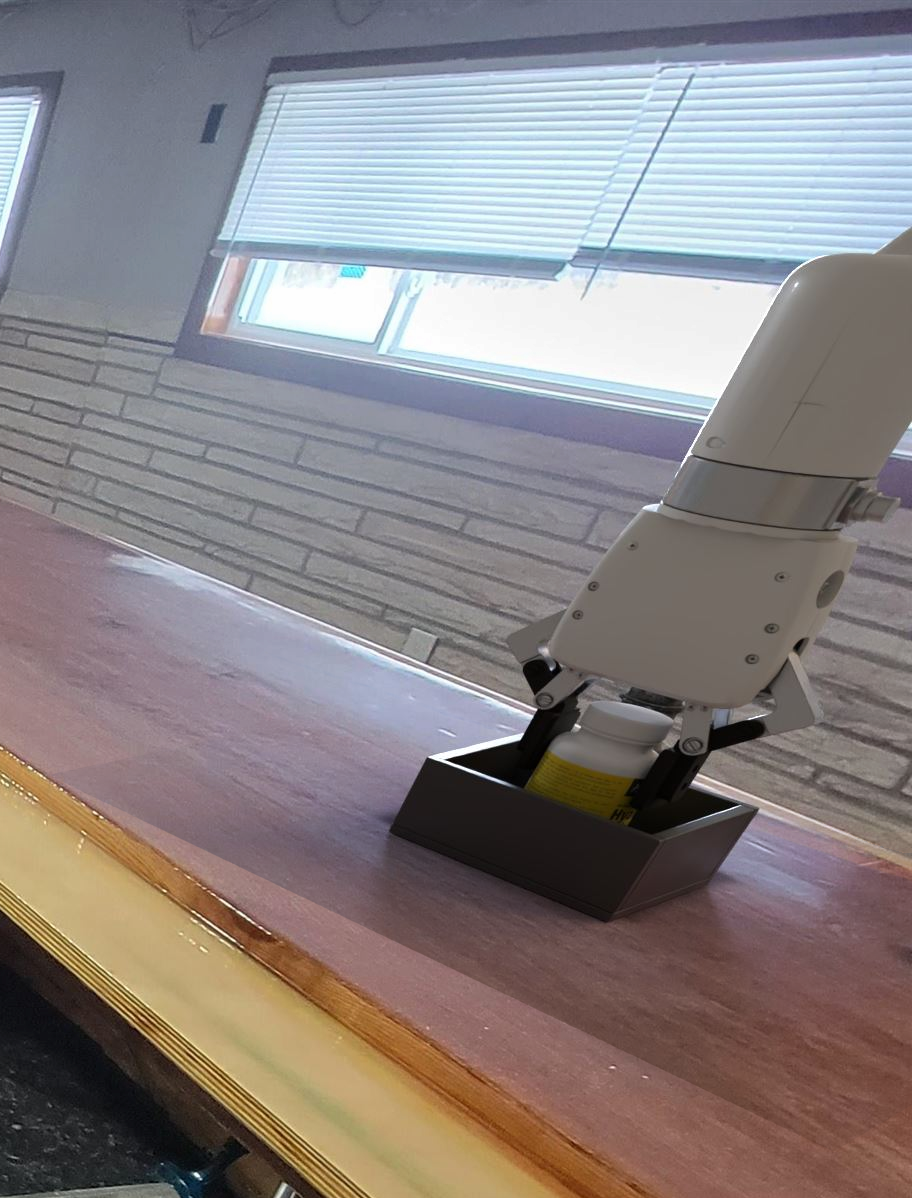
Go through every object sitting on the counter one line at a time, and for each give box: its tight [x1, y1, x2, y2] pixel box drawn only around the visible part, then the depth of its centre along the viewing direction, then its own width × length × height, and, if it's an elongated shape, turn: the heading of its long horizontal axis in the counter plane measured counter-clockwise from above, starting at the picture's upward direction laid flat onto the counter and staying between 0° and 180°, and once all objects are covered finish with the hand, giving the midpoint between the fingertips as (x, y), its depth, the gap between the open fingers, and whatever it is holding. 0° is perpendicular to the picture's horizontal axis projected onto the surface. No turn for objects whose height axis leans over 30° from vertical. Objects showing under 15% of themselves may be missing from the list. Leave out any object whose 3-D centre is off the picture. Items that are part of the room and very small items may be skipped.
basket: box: [388, 732, 760, 923], centre depth 79 cm, size 12×12×6 cm
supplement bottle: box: [524, 700, 675, 826], centre depth 77 cm, size 5×5×10 cm
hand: (589, 783), depth 77 cm, fingers closed on supplement bottle, 5 cm apart
